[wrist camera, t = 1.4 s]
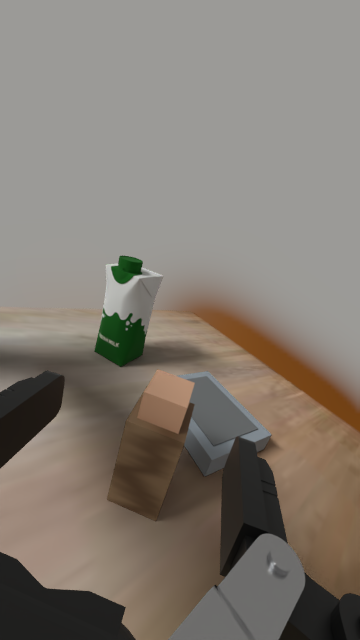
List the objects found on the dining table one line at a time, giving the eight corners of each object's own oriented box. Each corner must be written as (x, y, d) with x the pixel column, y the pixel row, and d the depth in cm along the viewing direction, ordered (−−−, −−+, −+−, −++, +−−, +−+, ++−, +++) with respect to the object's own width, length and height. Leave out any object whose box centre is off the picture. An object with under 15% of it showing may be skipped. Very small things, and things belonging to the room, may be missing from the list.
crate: (106, 499, 26) (126, 420, 22) (128, 456, 31) (147, 386, 27) (155, 521, 26) (184, 443, 22) (169, 474, 31) (194, 404, 27)
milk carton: (87, 351, 50) (102, 251, 43) (118, 338, 58) (135, 252, 51) (121, 371, 47) (143, 267, 40) (148, 355, 55) (171, 265, 47)
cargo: (137, 417, 23) (143, 391, 22) (151, 392, 27) (157, 369, 26) (178, 434, 22) (187, 408, 21) (186, 406, 26) (194, 382, 25)
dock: (150, 393, 43) (154, 378, 42) (203, 383, 50) (208, 370, 49) (204, 476, 32) (212, 458, 30) (264, 449, 38) (272, 433, 37)
